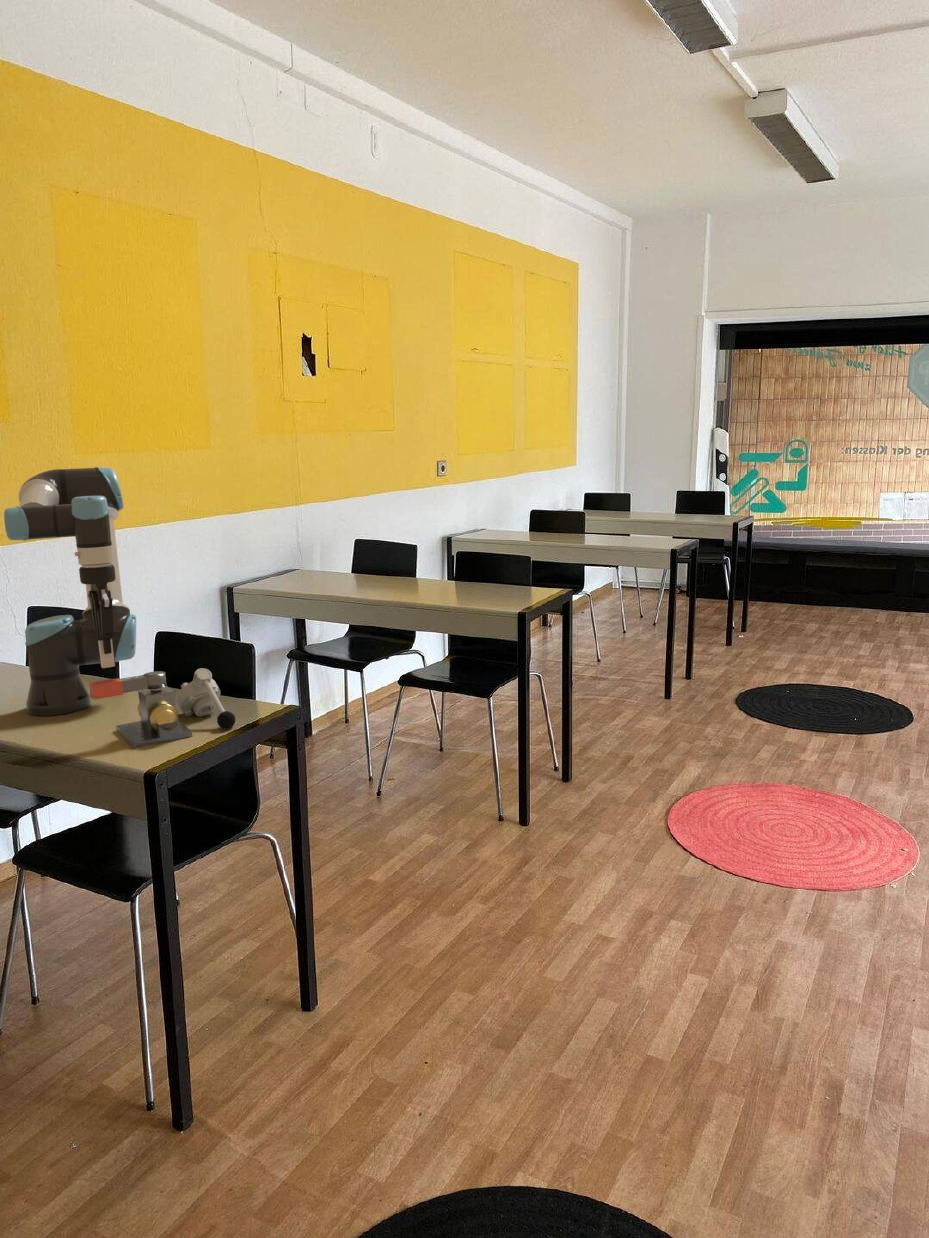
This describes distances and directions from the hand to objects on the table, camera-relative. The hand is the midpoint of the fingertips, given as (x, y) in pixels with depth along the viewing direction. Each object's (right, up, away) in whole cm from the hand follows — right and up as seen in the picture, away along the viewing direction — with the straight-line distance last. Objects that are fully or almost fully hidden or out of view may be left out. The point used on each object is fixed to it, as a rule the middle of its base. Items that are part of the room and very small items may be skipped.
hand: (108, 666), depth 216 cm
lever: (+6, -6, -3) cm, 9 cm away
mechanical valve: (+21, -14, +11) cm, 27 cm away
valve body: (+10, -16, +2) cm, 19 cm away
